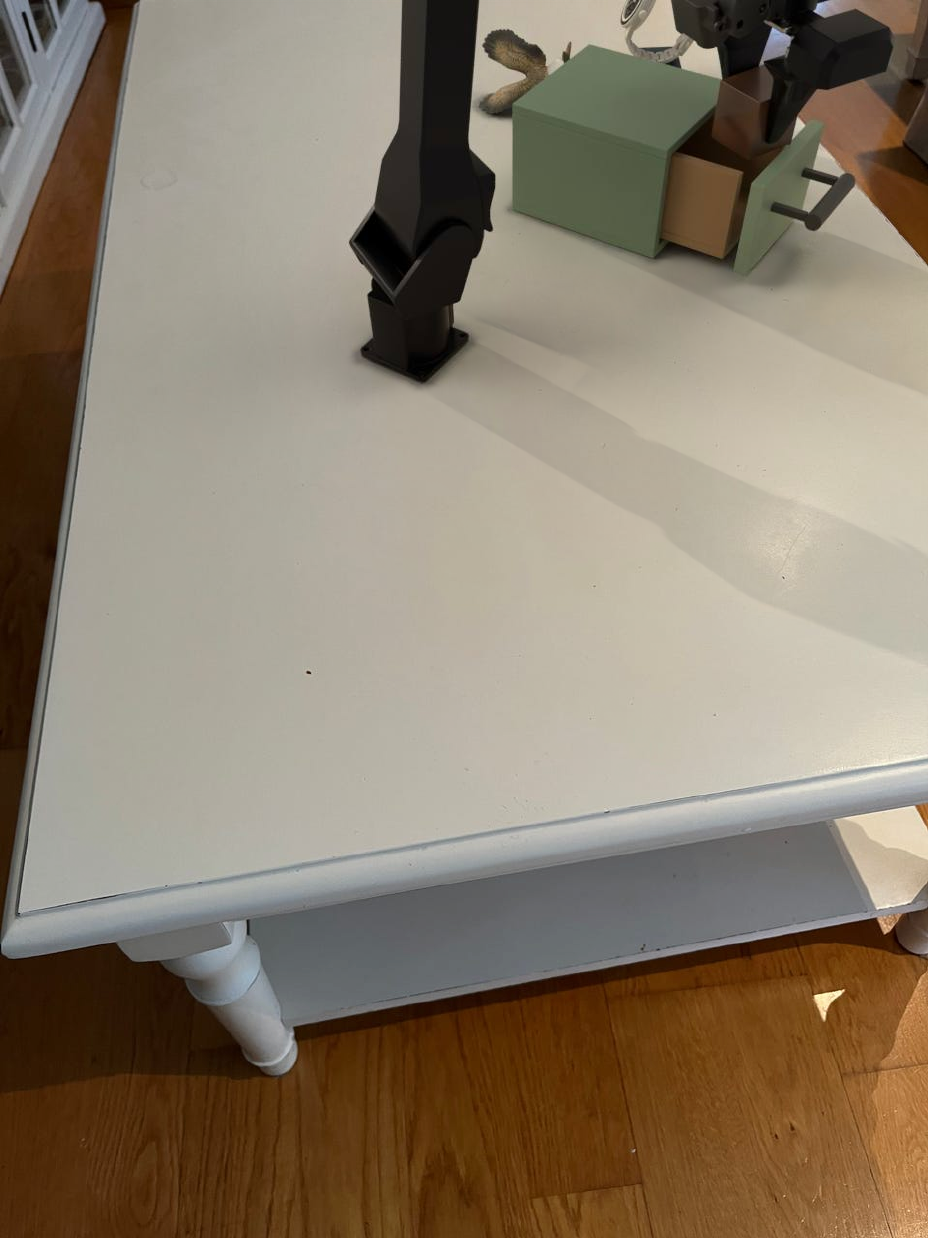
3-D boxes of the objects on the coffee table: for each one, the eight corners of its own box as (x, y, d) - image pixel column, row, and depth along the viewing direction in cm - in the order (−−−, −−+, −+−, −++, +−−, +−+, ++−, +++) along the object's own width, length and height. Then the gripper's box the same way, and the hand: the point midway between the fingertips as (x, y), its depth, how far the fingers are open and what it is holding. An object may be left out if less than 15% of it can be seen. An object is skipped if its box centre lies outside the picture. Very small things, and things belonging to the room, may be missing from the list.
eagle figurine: (562, 66, 102) (478, 53, 101) (580, 21, 95) (490, 7, 94) (558, 135, 102) (474, 124, 101) (575, 96, 95) (485, 83, 94)
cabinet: (718, 190, 89) (738, 83, 82) (653, 258, 84) (667, 150, 76) (582, 147, 95) (589, 43, 87) (511, 209, 89) (512, 103, 81)
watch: (612, 79, 103) (622, -39, 94) (688, 76, 102) (705, -42, 93) (616, 105, 99) (627, -14, 90) (695, 103, 99) (713, -18, 90)
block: (791, 143, 77) (805, 85, 74) (748, 160, 76) (760, 102, 73) (753, 120, 80) (764, 63, 76) (710, 137, 79) (720, 79, 75)
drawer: (849, 224, 84) (876, 135, 78) (794, 293, 79) (819, 203, 72) (665, 168, 90) (677, 81, 84) (604, 227, 85) (611, 140, 79)
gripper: (621, -123, 68) (604, 104, 80) (789, -29, 58) (739, 213, 70) (751, -154, 70) (715, 70, 83) (934, -70, 60) (861, 171, 73)
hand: (752, 127), depth 77 cm, fingers closed on block, 5 cm apart
